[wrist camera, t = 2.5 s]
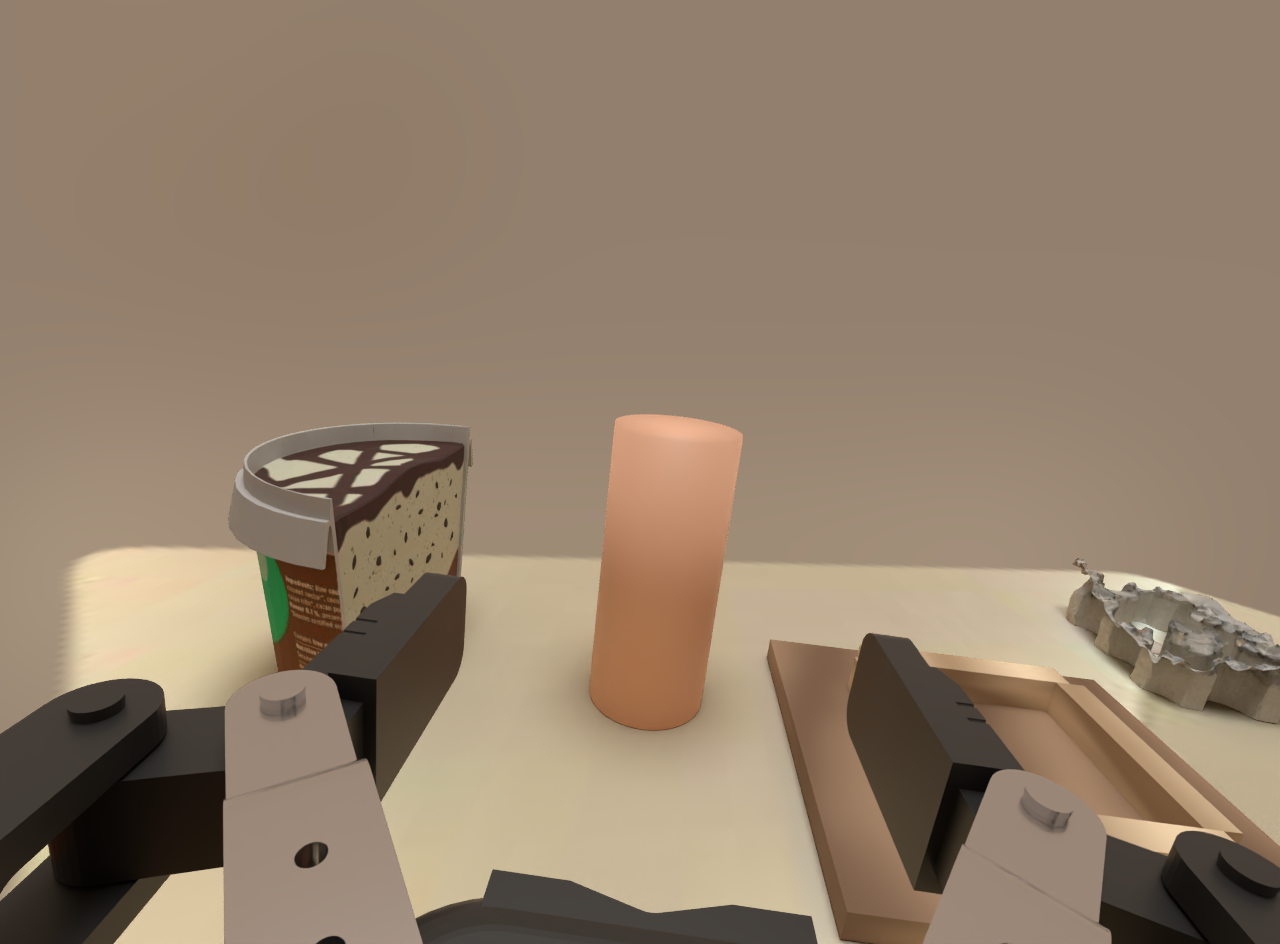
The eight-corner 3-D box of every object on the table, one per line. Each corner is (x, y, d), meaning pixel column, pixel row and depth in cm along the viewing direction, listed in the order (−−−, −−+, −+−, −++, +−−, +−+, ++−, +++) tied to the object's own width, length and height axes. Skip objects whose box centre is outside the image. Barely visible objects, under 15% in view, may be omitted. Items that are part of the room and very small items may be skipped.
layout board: (1087, 697, 30) (1103, 653, 29) (1428, 1020, 16) (1472, 953, 16) (767, 656, 30) (775, 612, 29) (840, 938, 17) (858, 869, 16)
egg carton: (1048, 609, 40) (1066, 552, 39) (1175, 631, 39) (1197, 574, 38) (1140, 705, 30) (1168, 633, 29) (1316, 740, 29) (1352, 666, 28)
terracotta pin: (699, 665, 29) (736, 422, 26) (703, 737, 24) (750, 449, 21) (597, 652, 29) (621, 409, 26) (581, 721, 24) (608, 433, 21)
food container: (357, 593, 32) (352, 409, 29) (468, 608, 32) (474, 424, 29) (157, 759, 20) (118, 477, 17) (331, 788, 20) (319, 504, 17)
